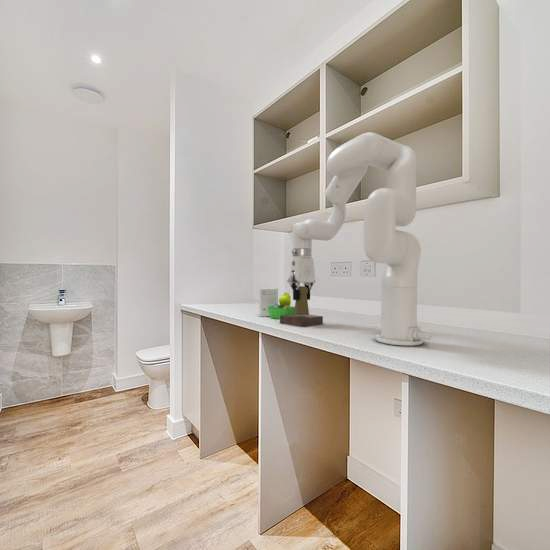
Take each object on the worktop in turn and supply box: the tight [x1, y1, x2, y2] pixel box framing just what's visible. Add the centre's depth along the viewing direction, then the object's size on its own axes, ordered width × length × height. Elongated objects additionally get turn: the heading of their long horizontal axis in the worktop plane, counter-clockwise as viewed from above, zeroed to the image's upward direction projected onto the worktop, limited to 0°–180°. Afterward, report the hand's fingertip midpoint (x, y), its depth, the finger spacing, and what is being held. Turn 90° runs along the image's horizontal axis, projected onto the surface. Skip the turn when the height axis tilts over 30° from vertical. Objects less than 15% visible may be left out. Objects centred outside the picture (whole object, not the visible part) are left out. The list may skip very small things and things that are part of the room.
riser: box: [279, 314, 324, 328], centre depth 123 cm, size 12×12×3 cm
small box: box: [259, 287, 279, 317], centre depth 147 cm, size 8×6×13 cm
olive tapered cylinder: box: [294, 285, 310, 315], centre depth 123 cm, size 6×6×11 cm
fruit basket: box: [268, 292, 295, 320], centre depth 138 cm, size 11×9×11 cm
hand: (301, 299), depth 123 cm, fingers closed on olive tapered cylinder, 5 cm apart
